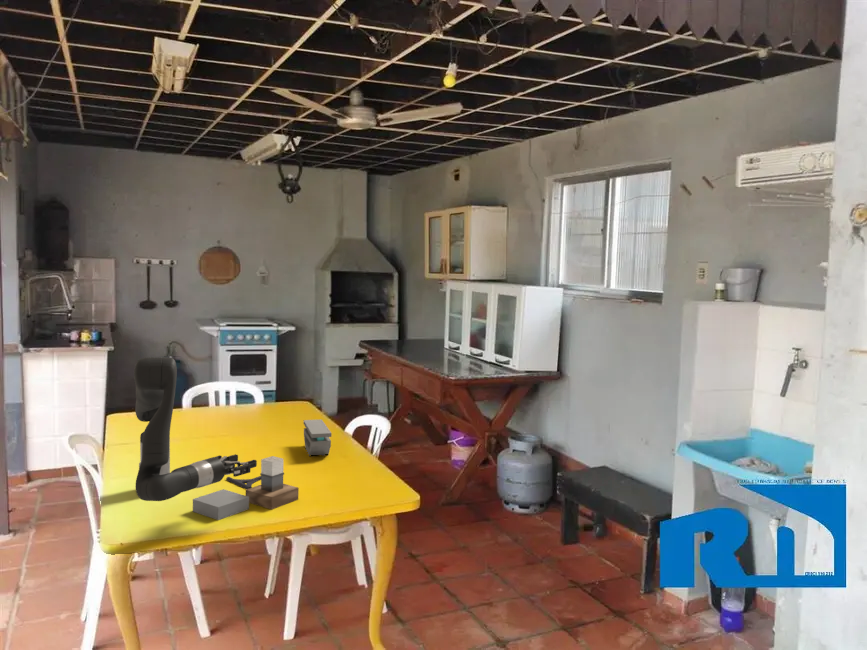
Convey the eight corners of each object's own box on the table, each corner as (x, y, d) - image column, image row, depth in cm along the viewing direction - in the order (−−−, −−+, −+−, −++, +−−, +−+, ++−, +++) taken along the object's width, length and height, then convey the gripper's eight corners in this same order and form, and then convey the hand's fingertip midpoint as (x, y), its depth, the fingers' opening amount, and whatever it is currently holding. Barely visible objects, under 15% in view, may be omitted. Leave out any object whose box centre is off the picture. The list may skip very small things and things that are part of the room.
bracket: (284, 482, 245) (284, 475, 245) (247, 491, 235) (247, 483, 234) (261, 473, 255) (261, 466, 255) (226, 482, 245) (226, 474, 244)
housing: (260, 489, 224) (260, 459, 223) (272, 485, 228) (272, 455, 227) (271, 492, 221) (272, 462, 220) (283, 488, 225) (284, 458, 224)
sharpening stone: (331, 459, 274) (331, 433, 273) (311, 460, 272) (311, 434, 271) (321, 443, 298) (321, 419, 297) (303, 444, 295) (303, 420, 295)
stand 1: (192, 511, 213) (192, 499, 212) (223, 501, 223) (223, 489, 223) (218, 520, 206) (218, 507, 206) (248, 509, 216) (248, 496, 216)
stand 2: (245, 501, 223) (245, 489, 223) (272, 492, 233) (272, 480, 233) (271, 509, 217) (271, 497, 216) (298, 499, 227) (298, 487, 226)
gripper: (220, 465, 197) (262, 452, 210) (188, 455, 204) (231, 444, 218) (220, 490, 197) (262, 476, 211) (188, 480, 205) (231, 467, 219)
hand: (246, 460), depth 214 cm, fingers open, 8 cm apart
